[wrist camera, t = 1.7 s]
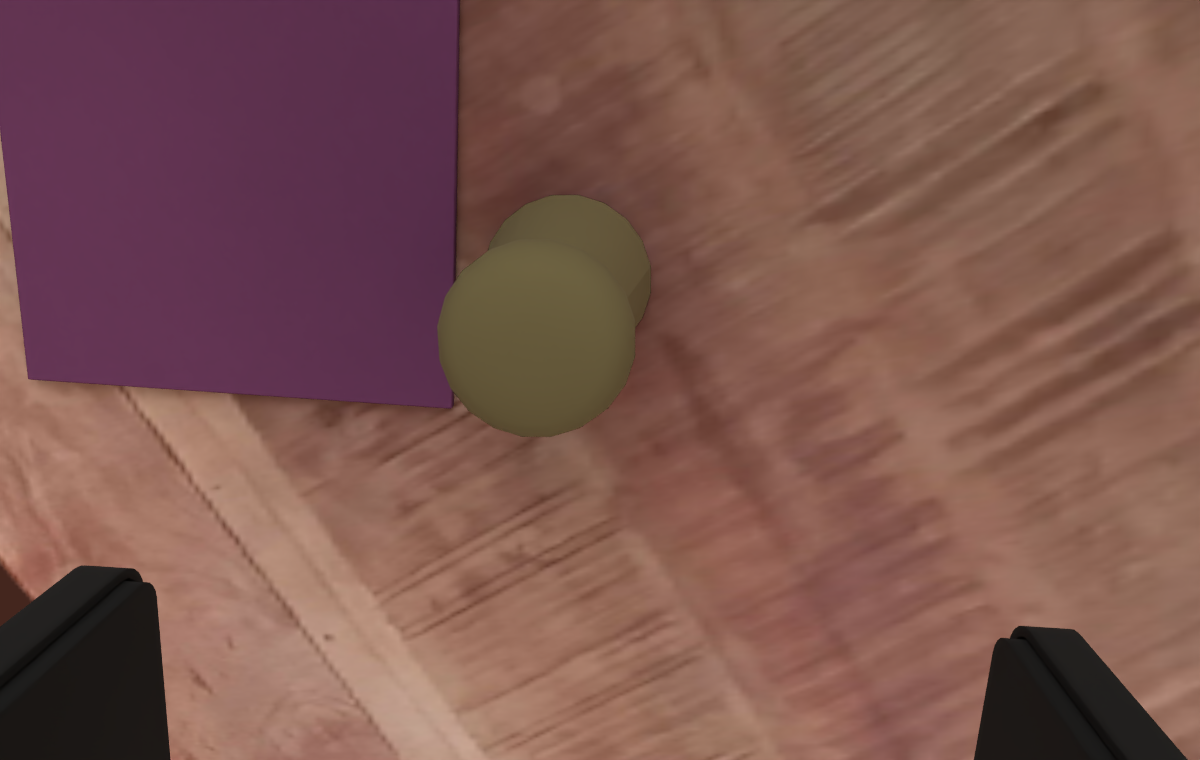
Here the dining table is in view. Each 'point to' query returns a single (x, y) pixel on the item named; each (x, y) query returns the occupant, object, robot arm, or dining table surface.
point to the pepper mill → (546, 317)
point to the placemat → (234, 193)
